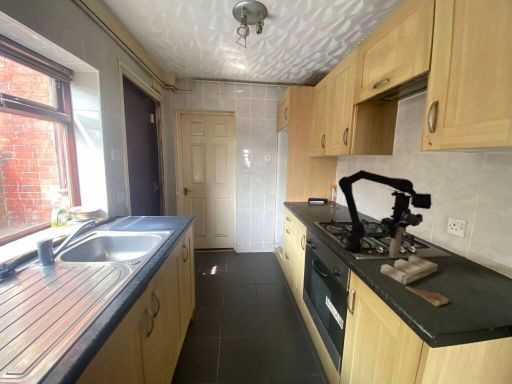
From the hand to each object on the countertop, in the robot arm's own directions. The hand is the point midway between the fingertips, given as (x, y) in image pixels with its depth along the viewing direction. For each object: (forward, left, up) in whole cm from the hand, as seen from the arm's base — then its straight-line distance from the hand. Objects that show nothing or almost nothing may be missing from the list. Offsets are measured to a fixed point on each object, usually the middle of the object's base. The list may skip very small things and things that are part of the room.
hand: (396, 237), depth 103 cm
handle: (0, 0, -10) cm, 10 cm away
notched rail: (+10, -5, -11) cm, 16 cm away
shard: (+23, -18, -12) cm, 32 cm away
